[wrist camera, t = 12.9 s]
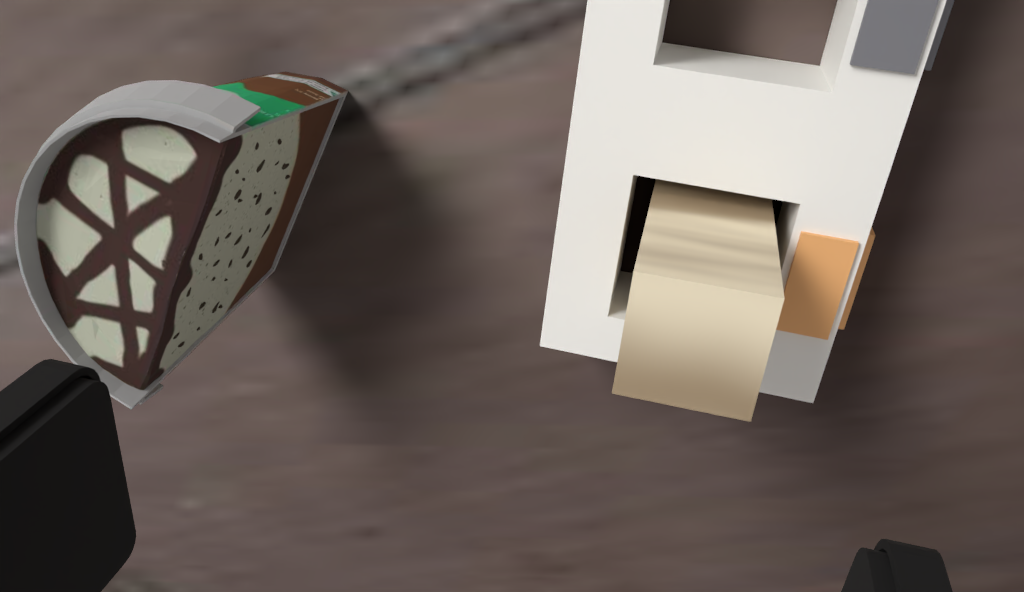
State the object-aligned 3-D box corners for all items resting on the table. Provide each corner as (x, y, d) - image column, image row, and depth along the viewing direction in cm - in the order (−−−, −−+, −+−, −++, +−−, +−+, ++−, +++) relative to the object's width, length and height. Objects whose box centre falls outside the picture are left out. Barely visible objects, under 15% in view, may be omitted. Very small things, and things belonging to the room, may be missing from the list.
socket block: (631, -201, 26) (616, -213, 23) (979, -165, 25) (1022, -172, 21) (558, 298, 35) (538, 348, 31) (814, 350, 33) (825, 408, 30)
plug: (660, 161, 31) (633, 271, 23) (769, 178, 31) (784, 298, 22) (643, 257, 33) (611, 393, 24) (745, 275, 33) (750, 421, 24)
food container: (222, -26, 32) (32, 12, 23) (361, 57, 32) (225, 125, 24) (147, 228, 38) (-26, 332, 29) (264, 296, 38) (128, 420, 30)
